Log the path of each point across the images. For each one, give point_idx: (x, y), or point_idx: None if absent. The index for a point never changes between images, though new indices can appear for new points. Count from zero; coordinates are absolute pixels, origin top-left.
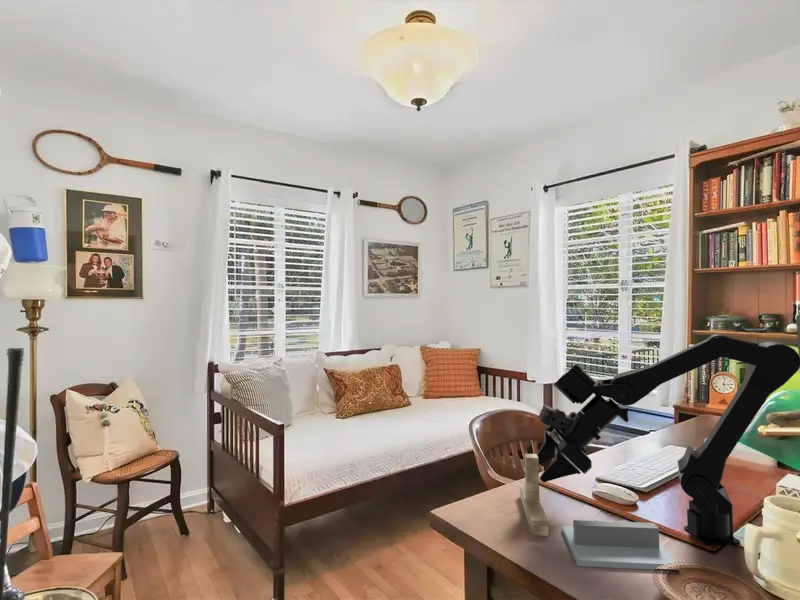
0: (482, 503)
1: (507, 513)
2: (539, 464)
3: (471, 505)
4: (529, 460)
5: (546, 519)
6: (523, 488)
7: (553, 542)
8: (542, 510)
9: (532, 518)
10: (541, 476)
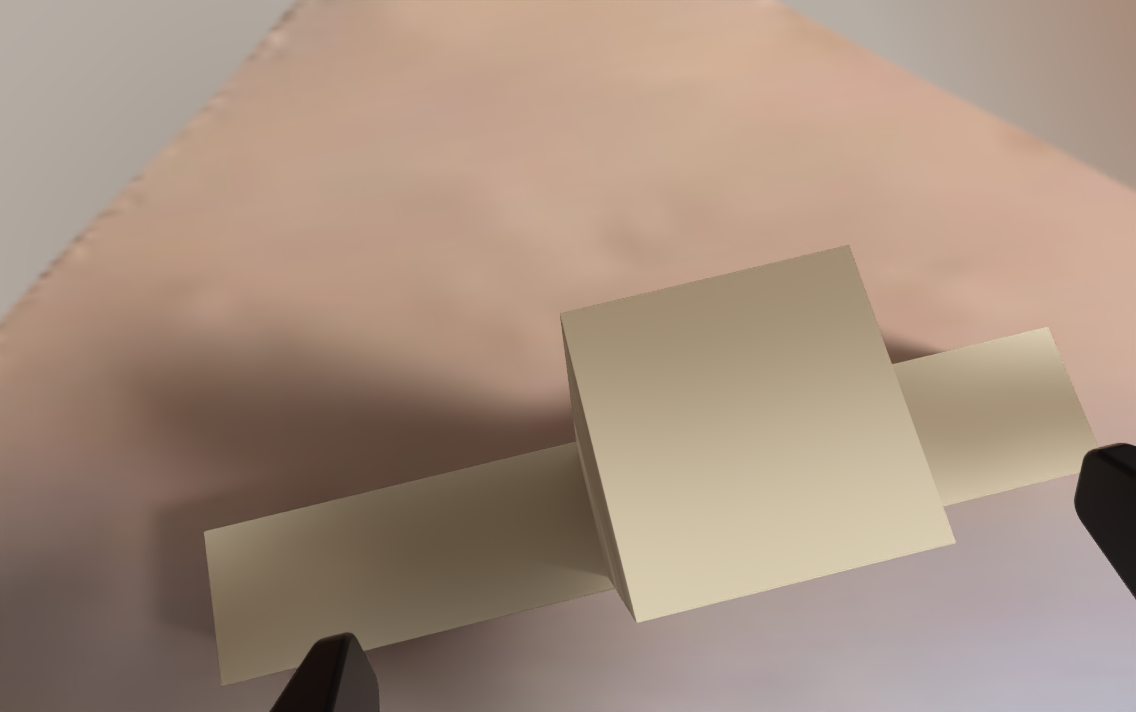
0: (723, 95)
1: None
2: (1124, 573)
3: (657, 30)
4: (580, 405)
5: (255, 668)
6: (943, 377)
7: (200, 708)
8: (446, 617)
9: (246, 533)
10: (296, 676)
